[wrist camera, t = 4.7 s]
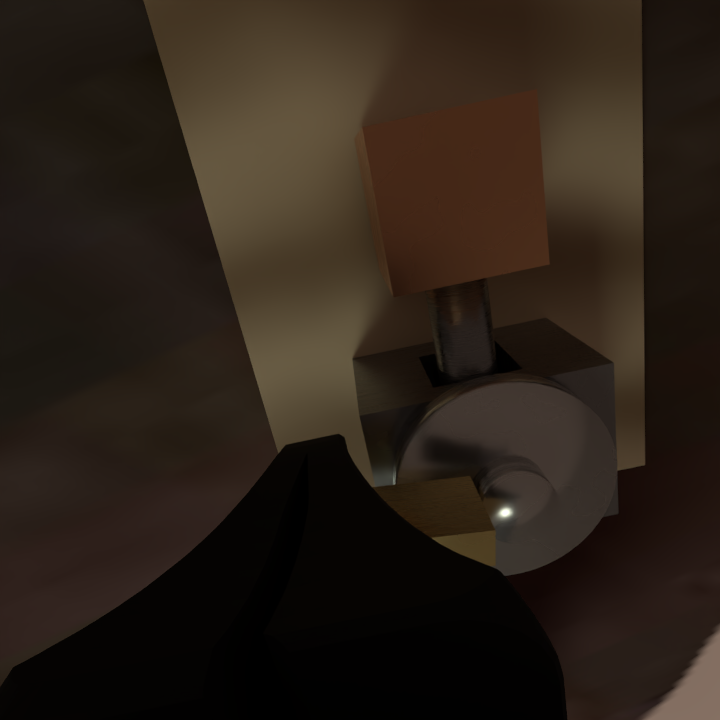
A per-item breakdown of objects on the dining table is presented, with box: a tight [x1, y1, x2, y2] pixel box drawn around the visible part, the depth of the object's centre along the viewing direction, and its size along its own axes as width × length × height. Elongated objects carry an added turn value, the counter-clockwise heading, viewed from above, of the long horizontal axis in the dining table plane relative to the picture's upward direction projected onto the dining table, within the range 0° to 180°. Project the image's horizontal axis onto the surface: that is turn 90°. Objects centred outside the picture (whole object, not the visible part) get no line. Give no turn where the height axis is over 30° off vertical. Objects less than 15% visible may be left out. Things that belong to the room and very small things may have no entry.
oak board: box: [143, 0, 645, 487], centre depth 18 cm, size 20×14×1 cm
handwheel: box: [372, 373, 617, 576], centre depth 13 cm, size 8×6×3 cm
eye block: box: [352, 318, 618, 517], centre depth 17 cm, size 5×7×5 cm
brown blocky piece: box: [354, 89, 550, 386], centre depth 16 cm, size 12×4×4 cm, turn 12°
